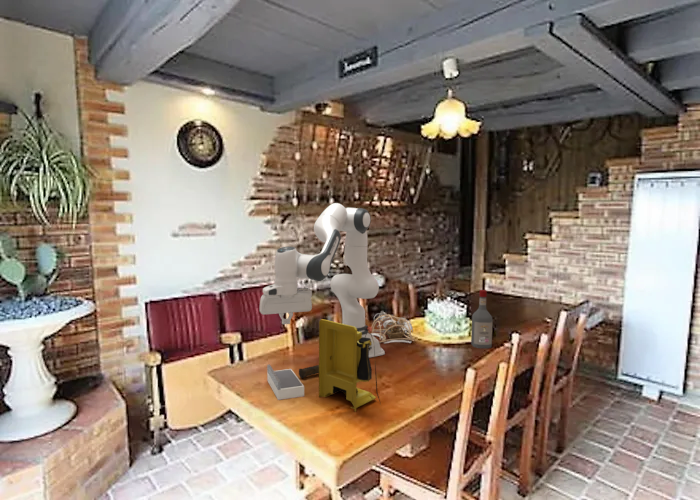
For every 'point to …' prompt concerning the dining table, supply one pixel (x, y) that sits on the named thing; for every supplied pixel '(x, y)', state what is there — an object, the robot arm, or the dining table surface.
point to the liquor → (482, 324)
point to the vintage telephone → (344, 362)
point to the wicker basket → (392, 328)
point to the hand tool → (308, 371)
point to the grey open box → (284, 383)
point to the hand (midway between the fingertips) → (286, 323)
